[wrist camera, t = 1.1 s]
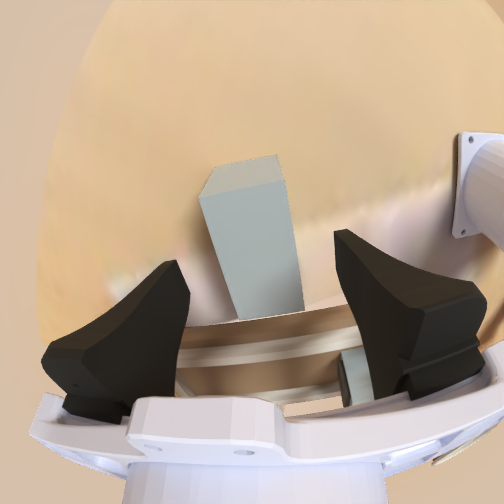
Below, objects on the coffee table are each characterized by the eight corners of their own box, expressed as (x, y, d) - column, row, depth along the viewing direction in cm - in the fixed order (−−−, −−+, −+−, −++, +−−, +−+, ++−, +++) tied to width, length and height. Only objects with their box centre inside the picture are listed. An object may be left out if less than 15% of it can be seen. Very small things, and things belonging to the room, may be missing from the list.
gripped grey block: (276, 154, 15) (284, 179, 10) (295, 262, 18) (305, 315, 14) (215, 166, 15) (198, 197, 11) (244, 271, 19) (241, 325, 15)
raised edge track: (431, 284, 19) (466, 341, 14) (409, 360, 25) (426, 408, 19) (153, 330, 22) (132, 392, 17) (197, 393, 28) (189, 443, 22)
